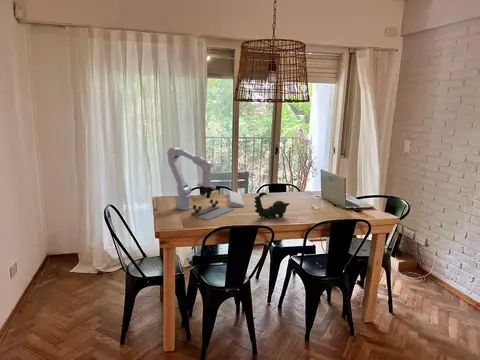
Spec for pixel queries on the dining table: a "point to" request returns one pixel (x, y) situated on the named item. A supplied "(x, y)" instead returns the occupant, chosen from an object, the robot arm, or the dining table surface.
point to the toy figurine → (270, 208)
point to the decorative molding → (235, 199)
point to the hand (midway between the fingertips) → (206, 197)
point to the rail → (205, 196)
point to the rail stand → (205, 210)
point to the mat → (215, 213)
